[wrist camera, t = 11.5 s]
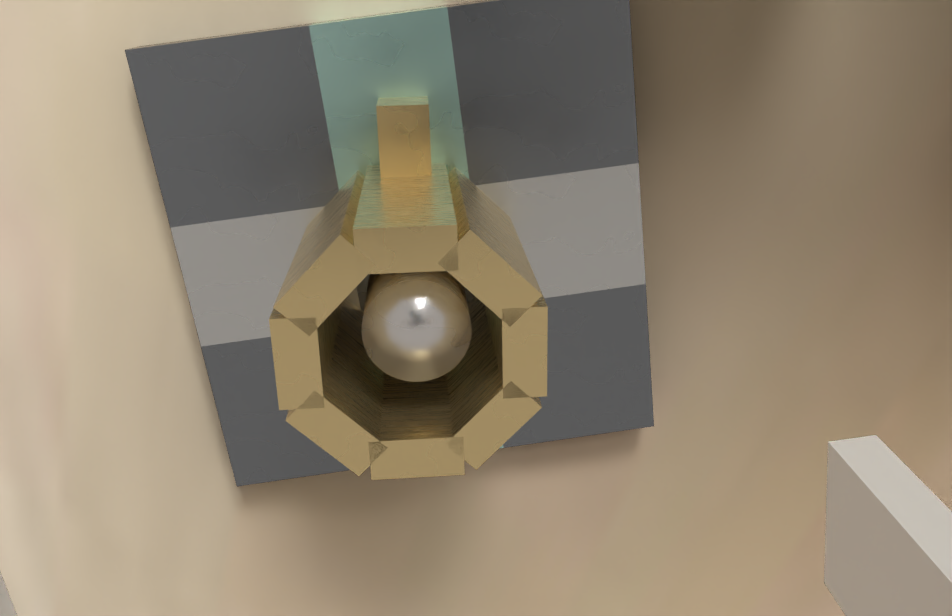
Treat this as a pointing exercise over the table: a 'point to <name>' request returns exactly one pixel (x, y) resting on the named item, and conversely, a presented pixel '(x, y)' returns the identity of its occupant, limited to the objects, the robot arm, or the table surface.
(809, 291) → the table surface
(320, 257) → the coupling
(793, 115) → the table surface
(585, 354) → the post base
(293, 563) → the table surface
